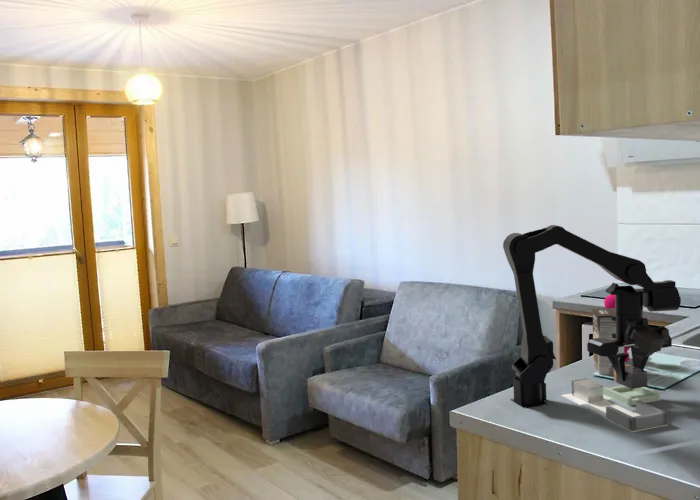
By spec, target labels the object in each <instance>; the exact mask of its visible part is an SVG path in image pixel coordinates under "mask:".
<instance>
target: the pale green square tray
mask: <svg viewBox="0 0 700 500" xmlns="http://www.w3.org/2000/svg"><path fill="white" fill-rule="evenodd" d="M660 394H661V393H660V392H658V391H655V390H653V389H652V388H648V387H641V388H635V389H631V388H629V387H626V386H624V385H619V386H614V387H608V386H603V395H604V396H607V397H609V398H611V399H615V400H617V401H619V402H621V403H624V404H626V405H628V406H630V407H632V406H636V401H642V402H644V403H646V404H648V403H651V402H652V403H653V402H658V401H662V399H661V398H660V396H661V395H660Z"/></svg>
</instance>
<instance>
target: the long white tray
mask: <svg viewBox="0 0 700 500" xmlns="http://www.w3.org/2000/svg"><path fill="white" fill-rule="evenodd" d="M560 396H561V397H563V398H564V399H567V400H569V401H571V402H573V403H575V404H576V405H579V406H581V407H583V408H584V409H587V410H588V411H591V412H592V413H594V414H596V415H598V416H601V417H603V418H604V419H606V420H608V421H610V422H612V423H614V424H616V425H618V426H619V427H622V428H623V429H626V430H628V431H630V432H632V433H635V432H640V431H645V430H650V429H655V428H660V427H661V428H662V427H666V426H668V412H667V411H664V410H662V409H659V408H657V407H656V406H653V405H651V404H648V403H644V402H642V401H636V405H635V407H632V406H628V405H626V404H624V403H621V402H619V401H617V400H615V399H611V398H609V397H607V396H605V395H603V401H597V402H592V403H587V402H585V401H583V400H581V399H579V398H577V397H575V396H573V395H572V392H571V393H567V394H566V393H565V394H561V395H560Z"/></svg>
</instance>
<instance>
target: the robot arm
mask: <svg viewBox="0 0 700 500" xmlns="http://www.w3.org/2000/svg"><path fill="white" fill-rule="evenodd" d="M502 244H503V245H502V249H503V251H504V254H505V256H506V259H507V262H508V264H509V266H510V269H511V271H512V274H513V278H514V284H515V290H516V296H517V302H518V308H519V314H520V321H521V327H522V338H521V343H520V355H519V356H518V358H517V359H516V360H514V362H513V363H512V364H511V367H512V370H513V373H514V374H515V375H516V377H512V380H513V381H512V382H513V383H512V384H513V398H510V401H511V402H513V403H514V404H516V405H518V406H520V407H521V408H522V409H529V408H534V407H535V408H537V407H541V406H546V405H550V403H549V402H547V382H546V383H545V381H546V377H547V375H548V373H549V372H550V371H551V370H552V369H553V368H554V360H557V358H556V356H555V353H554V341H552V340H551V339H550V338H548V336H547V335H544V334H543V328H542V323H541V316H540V310H539V304H538V298H537V291H536V285H535V279H534V269H535V264H536V253H539V252H542V251H544V250H545V249H548V248H551V247H552V246H555V245H558V246H559V247H562V248H563V249H565V250H568V251H570V252H571V253H574V254H576V255H578V256H580V257H582V258H584V259H586V260H588V261H590V262H592V263H594V264H596V265H597V266H599V267H600V268H601V269H602V270H603V271H604V272H606V273H607V274H609V275H610V276H612V277H613V278H614V279H615V280H617V281H618V282H619V281H620V282H621V283H625V284H627V285H619V284H618V283H616V282H612V283H611V284H610V286H608V287H607V288H605V290H604V292H606V293H607V294H608V295H615V314H616V315H615V316H612V320H613V321H616V333H612V338H615V339H616V340H615V341H612V340H609V339H606V338H603V337H602V338H595V339H593V338H591V339H589V340H588V342H587V344H586V347H587V348H586V349H587V352H590V353H592V354H593V353H594V354H597V355H600V356H604V357H608V359H609V360H610V362H611V364H612V366H613V367H614V369H615V371H616V373H617V375H618V378H619V380H620V381H624V379H625V365H626V362H625V359H626V358H627V357H628V356H629V357H630V354H629V355H628V354H625V353H624V348H626V347H630V351H631V352H630V353H631V359H632V366H634V367H637V368H639V369H642V370H645V367H646V364H647V362H648V360H649V357H651V356H652V355H653V354H655V353H657V352H660V351H662V349H665V348H670V347H672V346H673V345H672V342H673V341H672V340H673V339H672V337H671V335H670V330H669V328H668V327H666V326H658V327H657V328H656V327H650V326H649V320H648V318H647V317H644V308H646V309H647V310H648V311H649V312H653V313H654V312H666V311H667V312H669V311H670V312H671V311H678V310H679V309H680V307H681V304H682V302H681V301H682V298H681V296H680V293H679V289H678V288H677V285H676V284H677V283H676V281H674V280H671V279H669V280H668V279H667V280H663V281H653V279H652V278H651V277H650V275H649V274H648V273H647V268H646V264H645V263H644V262H642V261H641V260H639V259H638V258H637V259H636V258H632V257H630V256H626V255H623V254H620V253H615V252H612V251H609V250H607V249H605V248H603V247H601V246H599V245H598V244H595V243H593V242H591V241H588V240H587V239H585V238H583V237H582V236H579V235H577V234H575V233H572V232H571V231H568V230H566V229H565V228H564V227H563V226H562V225H561V226H560V225H556V224H550V225H548V226H546V227H543V228H540V229H536V230H531V231H528V232H525V233H519V232H513V233H510V234H509V235H507V236H506V237H505V239H504V240H503V243H502ZM634 285H635V286H638V287H640V288H634V287H633V286H634ZM623 343H625V344H623Z"/></svg>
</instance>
